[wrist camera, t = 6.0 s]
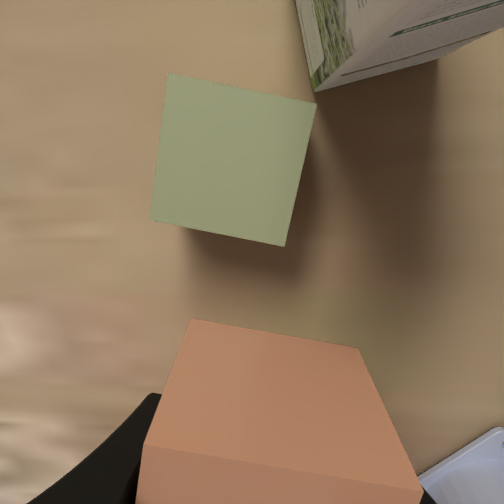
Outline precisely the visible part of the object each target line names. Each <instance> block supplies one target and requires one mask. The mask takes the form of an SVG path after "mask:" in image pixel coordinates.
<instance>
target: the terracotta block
mask: <svg viewBox="0 0 504 504" xmlns="http://www.w3.org/2000/svg"><path fill="white" fill-rule="evenodd" d="M423 493H424V491H423V488H422V486H421V484H420V482H419V480H418V478H417V475H416V473H415V471H414V469H413V467H412V465H411V463H410V460H409V458H408V456H407V454H406V452H405V450H404V447H403V445H402V443H401V441H400V439H399V437H398V434H397V432H396V430H395V428H394V426H393V424H392V421H391V419H390V417H389V415H388V413H387V411H386V409H385V406H384V404H383V402H382V400H381V398H380V396H379V393H378V391H377V389H376V387H375V385H374V383H373V380H372V378H371V376H370V374H369V372H368V370H367V367H366V365H365V363H364V361H363V359H362V357H361V354H360V352H359V350H358V348H353V347H348V346H342V345H337V344H331V343H326V342H320V341H314V340H309V339H303V338H298V337H292V336H287V335H281V334H275V333H270V332H264V331H259V330H253V329H247V328H242V327H236V326H231V325H225V324H220V323H214V322H208V321H203V320H197V319H192V318H191V320H190V323H189V325H188V328H187V330H186V333H185V336H184V338H183V341H182V344H181V346H180V349H179V352H178V354H177V357H176V359H175V362H174V365H173V367H172V370H171V373H170V375H169V378H168V381H167V383H166V386H165V389H164V391H163V394H162V396H161V399H160V402H159V404H158V407H157V410H156V412H155V415H154V418H153V420H152V423H151V426H150V428H149V431H148V433H147V436H146V439H145V441H144V444H143V451H142V458H141V465H140V473H139V480H138V487H137V495H136V502H135V504H419V503H420V500H421V498H422V495H423Z"/></svg>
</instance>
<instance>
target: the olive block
mask: <svg viewBox="0 0 504 504" xmlns="http://www.w3.org/2000/svg"><path fill="white" fill-rule="evenodd" d="M316 107H317V104H315V103H310V102H306V101H301V100H296V99H291V98H286V97H282V96H277V95H272V94H267V93H262V92H258V91H253V90H248V89H243V88H239V87H234V86H229V85H224V84H219V83H215V82H210V81H205V80H200V79H195V78H191V77H186V76H181V75H176V74H172V73H168V76H167V84H166V92H165V100H164V108H163V115H162V123H161V131H160V139H159V147H158V155H157V162H156V170H155V178H154V186H153V194H152V201H151V209H150V217H149V220H152V221H157V222H162V223H167V224H172V225H177V226H182V227H187V228H192V229H197V230H202V231H207V232H212V233H217V234H222V235H227V236H232V237H237V238H242V239H247V240H252V241H257V242H262V243H267V244H272V245H278V246H283V247H285V242H286V238H287V233H288V229H289V225H290V220H291V216H292V212H293V207H294V203H295V198H296V194H297V190H298V185H299V181H300V177H301V172H302V168H303V163H304V159H305V155H306V150H307V146H308V142H309V137H310V133H311V129H312V124H313V120H314V115H315V111H316Z"/></svg>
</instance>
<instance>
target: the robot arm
mask: <svg viewBox="0 0 504 504" xmlns="http://www.w3.org/2000/svg"><path fill="white" fill-rule="evenodd" d="M161 396H162V394H157V393H151V394H149V395H148V396H147V397H146V398H145V399H144V400H143V402H142V403H141V404H140V405H139V406H138V407H137V409H136V410H135V411H134V412H133V413H132V414H131V415H130V416H129V417H128V418H127V419H126V420H125V421H124V422H123V423H122V425H121V426H119V427H118V428H117V429H116V430H115V431H114V432H113V433H112V434H111V435H110V436H109V437H108V438H107V439H106V440H105V441H104V442H103V443H102V444H101V445H100V446H99V447H98V448H96V449H95V450H94V451H93V452H92V453H91V454H90V455H88V456H87V457H86V458H85V459H84V460H83V461H82V462H80V463H79V464H78V465H77V466H76V467H75V468H73V469H72V470H71V471H70V472H69V473H67V474H66V475H65V476H64V477H62V478H61V479H60V480H58V481H57V482H56V483H55V484H53V485H52V486H51V487H49V488H48V489H47V490H45V491H44V492H43V493H41V494H40V495H38V496H37V497H36V498H34V499H33V500H31V501H30V502H28V503H27V504H135V502H136V495H137V487H138V480H139V473H140V465H141V458H142V451H143V444H144V441H145V439H146V436H147V433H148V431H149V428H150V426H151V423H152V420H153V418H154V415H155V412H156V410H157V407H158V404H159V402H160V399H161ZM503 442H504V428H503V427H495V428H493V429H491V430H490V431H488V432H487V433H485V434H484V435H482V436H480V437H479V438H477V439H476V440H474V441H473V442H471V443H470V444H468V445H466V446H465V447H463V448H462V449H460V450H459V451H457V452H455V453H454V454H452V455H451V456H449V457H448V458H446V459H445V460H443V461H441V462H440V463H438V464H437V465H435V466H434V467H432V468H431V469H429V470H427V471H426V472H424V473H423V474H421V475H420V476H418V477H417V478H418V480H419V482H420V484H421V486H422V488H423V491H424V493H423V495H422V498H421V500H420V503H419V504H504V443H503Z"/></svg>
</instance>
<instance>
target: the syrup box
mask: <svg viewBox="0 0 504 504" xmlns="http://www.w3.org/2000/svg"><path fill="white" fill-rule="evenodd" d="M295 4H296V9H297V14H298V18H299V23H300V28H301V34H302V39H303V44H304V49H305V54H306V59H307V64H308V69H309V75H310V80H311V86H312V90H313V91H315V92H318V91H322V90H325V89H329V88H333V87H337V86H340V85H344V84H348V83H351V82H355V81H359V80H362V79H366V78H370V77H373V76H377V75H381V74H384V73H388V72H392V71H396V70H399V69H403V68H407V67H411V66H414V65H418V64H422V63H425V62H428V61H432V60H435V59H438V58H441V57H443V56H445V55H447V54H449V53H451V52H453V51H455V50H457V49H459V48H460V47H462V46H464V45H466V44H468V43H470V42H472V41H474V40H477V39H479V38H481V37H483V36H485V35H487V34H489V33H491V32H494V31H496V30H498V29H500V28H502V27H504V0H295Z"/></svg>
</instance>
